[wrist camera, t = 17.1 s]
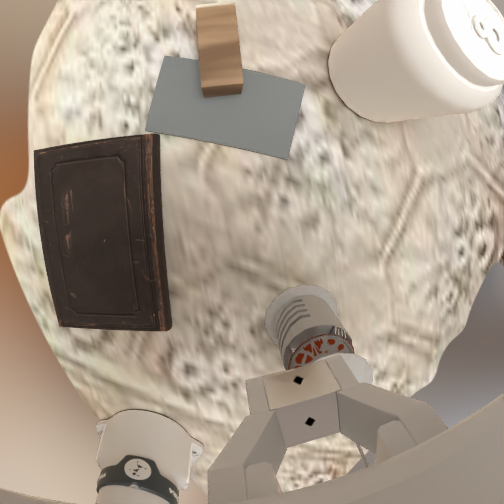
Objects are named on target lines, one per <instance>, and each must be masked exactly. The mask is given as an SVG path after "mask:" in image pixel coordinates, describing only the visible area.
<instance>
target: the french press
mask: <svg viewBox="0 0 504 504" xmlns="http://www.w3.org/2000/svg"><path fill="white" fill-rule="evenodd" d="M338 316H339V314H338V308H337V302H336V301H335V299H334V298H333V297H332V295H331V294H330V292H328V291H326V290H324V289H322V288H321V287H319V286H314V285H299V286H296V287H293V288H289V289H287V290H285V291H284V292H283V293H281V294H280V295H279V296H277V297H276V298H275V299H274V300H273V302H272V303H271V305H270V306H269V308H268V309H267V313H266V318H265V327H266V330H267V334H268V336H269V337H270V338H271V340H272V341H273V342H274V343H275V344H276V345H278V346H279V349H280V353H281V356H282V360H283V364H284V367H285V369H286V370H290V369H294V368H298V367H301V366H304V365H308V364H311V363H314V362H318V361H321V360H324V359H325V358H328V357H331V356H334V355H337V354H340V355H341V356H342V357H343V359H344V360H345V362H346V363H347V365H348V366H349V368H350V370H351V371H352V373H353V374H354V376H355V377H356V379H357V380H358V382H359V384H360V383H363V382H365V383H368V384H372V381H373V371H372V368H371V366H370V365H369V363H368V362H367V361H366V359H364V358H362V357H360V356H358V355H356V354H354V347H353V346H352V339H351V338H350V336H349V335H348V333H347V331H346V330H345V328H344V327H343V326H342V324H341V322H340V321H339V319H338ZM335 326H336V327H337V332H336V335H335ZM338 329H339V332H340V336H339V335H338ZM341 329H342V331H343V337H342V333H341ZM344 331H345V334H346V338H345V334H344ZM292 350H295V352H294V353H292ZM356 445H357V447H358V449H359V452H360V454H361V456H362V459H363V461H364V463H365V465H366V467H369V465H368V463H367V461H366V458H365V456H364V454H363V451H362V449H361V447H360V445H359V444H358V443H356Z"/></svg>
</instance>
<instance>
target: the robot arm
mask: <svg viewBox="0 0 504 504" xmlns="http://www.w3.org/2000/svg"><path fill="white" fill-rule="evenodd" d="M246 390H247V396H248V403H249V409H250V416H246V417H245V418H244V420H243V421H242V423H241V424H240V426H239V427H238V429H237V430H236V432H235V433H234V435H233V436H232V437H231V439H230V440H229V442H228V443H227V445H226V446H225V447H224V449H223V450H222V452H221V453H220V454H219V456H218V457H217V459H216V460H215V461H214V463H213V464H212V465H211V467H210V468H209V470H208V504H504V393H503V394H502V395H500V396H499V397H497V398H496V399H495V400H493V401H492V402H490V403H489V404H487V405H486V406H484V407H483V408H481V409H480V410H478V411H477V412H475V413H474V414H472V415H470V416H469V417H467V418H466V419H464V420H462V421H461V422H459V423H457V424H456V425H454V426H452V427H450V428H449V429H448V427H447V426H446V425H445V424H444V423H443V421H442V420H441V419H440V418H439V416H438V415H437V414H436V412H435V411H434V410H433V409H432V408H431V406H430V405H429V404H428V403H425V402H422V401H419V400H415V399H412V398H409V397H406V396H403V395H400V394H397V393H394V392H391V391H388V390H385V389H382V388H379V387H376V386H374V385H371V384H368V383H365V382H363V383H360V384H359V382H358V380H357V379H356V377H355V376H354V374H353V373H352V371H351V370H350V368H349V366H348V365H347V363H346V362H345V360H344V359H343V357H342V356H341V355H340V354H337V355H334V356H331V357H328V358H325V359H324V360H321V361H318V362H314V363H311V364H308V365H304V366H301V367H298V368H294V369H290V370H286V371H282V372H278V373H273V374H269V375H265V376H262V377H257V378H253V379H248V380H246ZM96 429H97V432H98V434H99V437H100V439H101V440H100V443H99V447H98V451H97V455H96V461H97V462H98V465H99V467H100V468H101V469H102V471H101V474H100V477H99V478H98V482H97V493H98V497H97V500H96V504H178V502H179V498H178V496H179V490H180V489H182V490H187V488H188V485H189V482H190V470H191V469H192V467H193V466H194V464H195V463H196V461H197V459H198V458H199V456H200V455H201V453H202V452H203V448H204V446H203V444H201V443H200V442H198V441H197V440H195V439H193V438H191V437H190V436H189V435H188V433H187V432H186V431H185V430H184V429H183V428H182V427H181V426H180V425H179V424H177V423H176V422H174V421H173V420H171V419H169V418H167V417H165V416H162V415H160V414H156V413H153V412H149V411H143V410H127V411H122V412H119V413H117V414H115V415H114V416H113V417H111V418H110V419H108V420H101V421H98V422H97V424H96ZM339 432H341V434H343V435H344V436H346V437H348V438H349V439H351V440H353V441H354V442H356V443H358V444H359V445H361V446H363V447H364V448H366V449H368V450H370V451H371V452H373V453H375V454H376V460H375V464H374V465H371V466H369V467H366V468H364V469H361V470H358V471H356V472H353V473H350V474H347V475H344V476H341V477H338V478H335V479H332V480H329V481H326V482H322V483H319V484H315V485H312V486H308V487H305V488H301V489H297V490H293V491H289V492H285V493H282V491H281V488H280V485H279V483H278V480H277V478H276V474H277V471H278V469H279V467H280V464H281V462H282V460H283V457H284V455H285V452H286V450H287V448H288V447H292V446H295V445H298V444H302V443H305V442H308V441H311V440H315V439H318V438H322V437H325V436H329V435H332V434H335V433H339ZM0 504H74V503H67V502H61V501H55V500H49V499H44V498H39V497H34V496H30V495H25V494H21V493H17V492H13V491H10V490H6V489H2V488H0Z"/></svg>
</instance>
